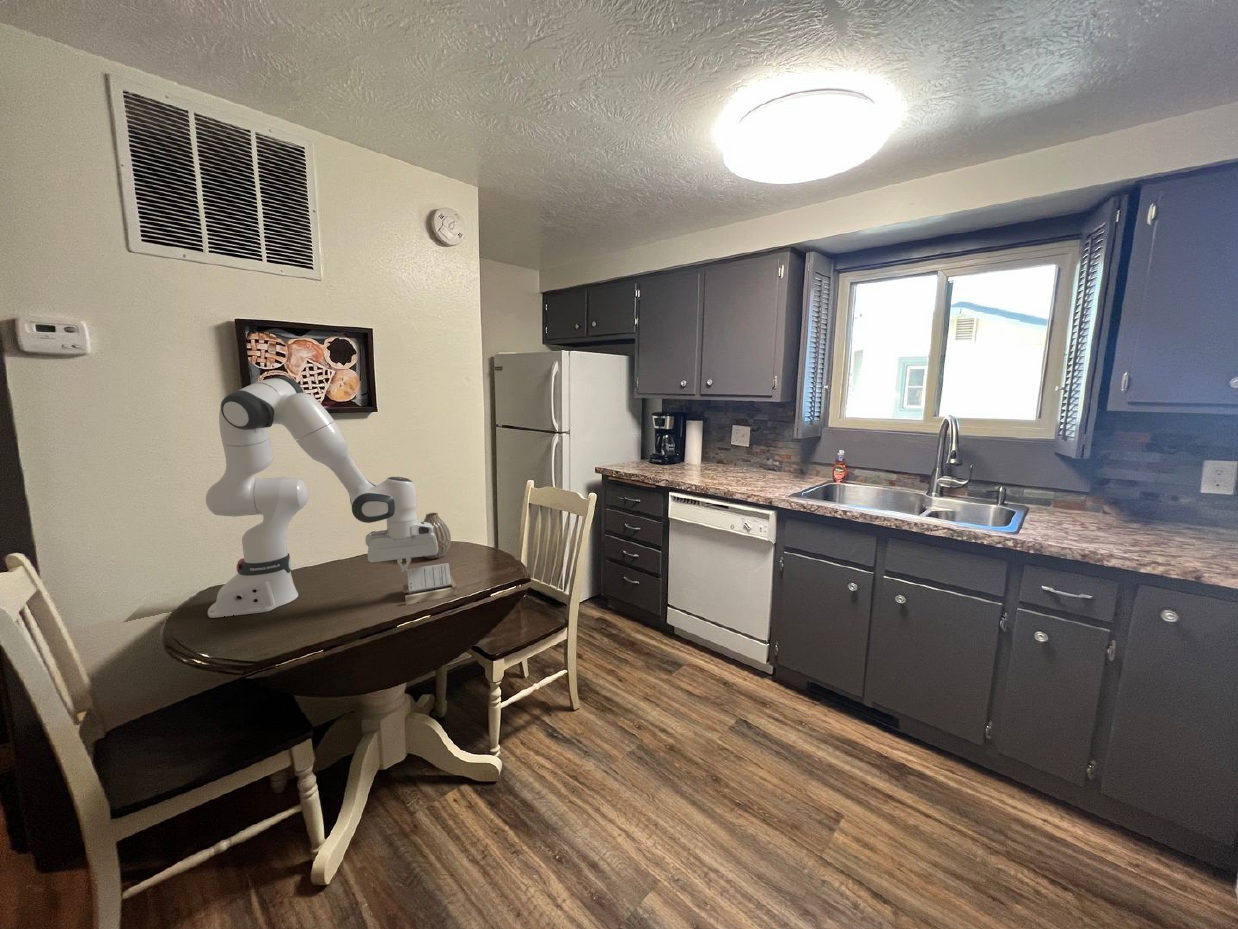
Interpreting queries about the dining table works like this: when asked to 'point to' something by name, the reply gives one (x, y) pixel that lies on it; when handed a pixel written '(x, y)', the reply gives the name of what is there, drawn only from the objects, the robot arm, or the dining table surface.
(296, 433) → the robot arm
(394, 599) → the dining table surface
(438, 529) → the vase
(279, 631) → the dining table surface
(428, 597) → the u rest
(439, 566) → the supplement box
